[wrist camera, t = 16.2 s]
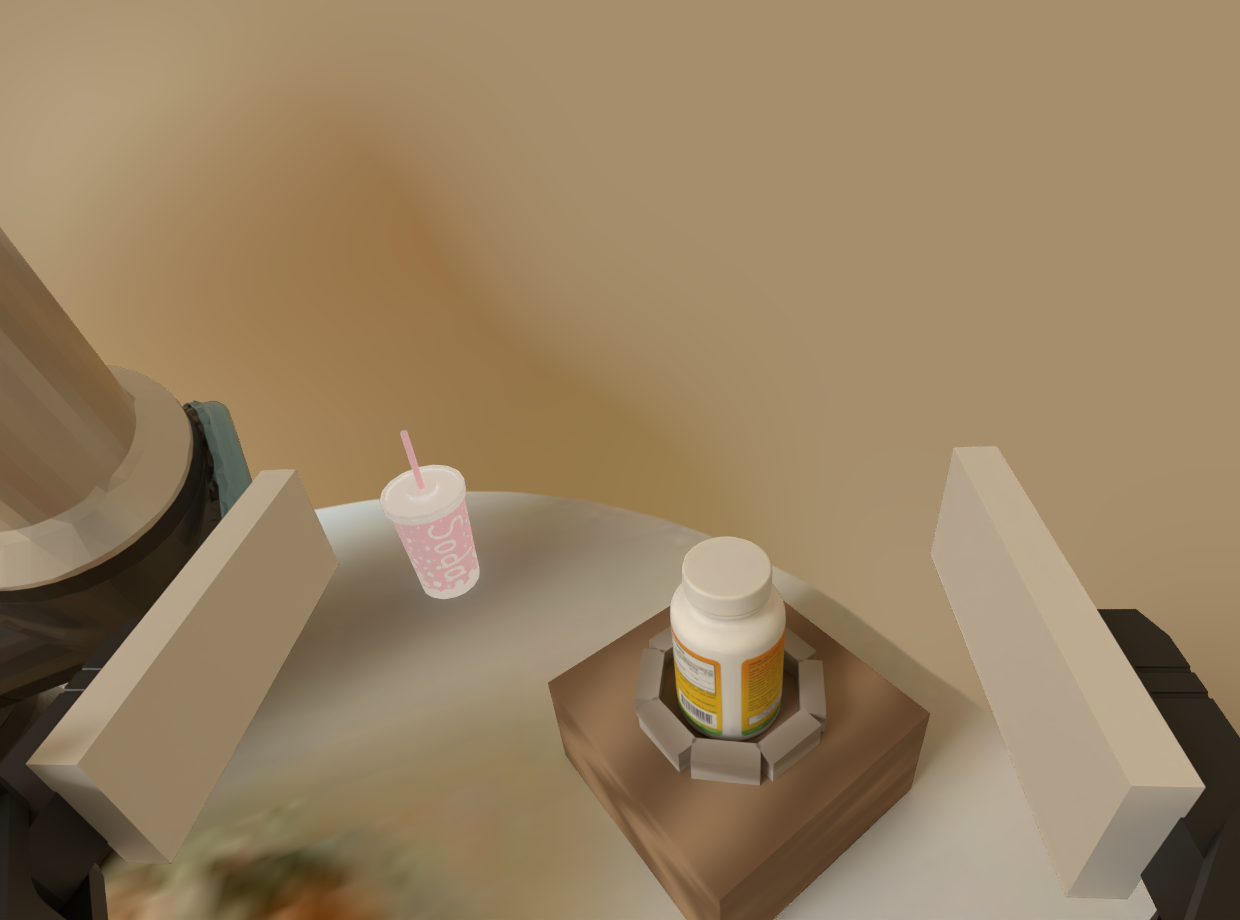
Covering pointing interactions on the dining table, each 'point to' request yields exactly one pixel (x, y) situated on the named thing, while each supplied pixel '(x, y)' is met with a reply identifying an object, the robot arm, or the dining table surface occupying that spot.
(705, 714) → the supplement bottle
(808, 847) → the carrier block
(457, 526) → the beverage cup
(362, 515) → the dining table surface
